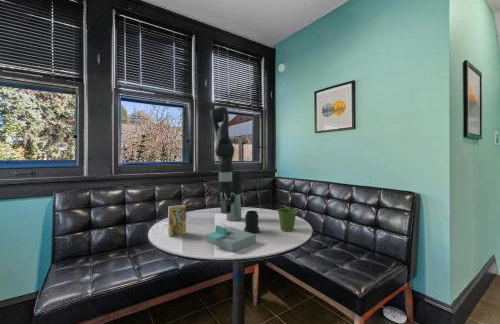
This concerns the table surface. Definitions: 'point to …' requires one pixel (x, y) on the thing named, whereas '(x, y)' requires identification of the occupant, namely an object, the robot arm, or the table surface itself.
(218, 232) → the shutter
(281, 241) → the table surface
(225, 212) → the plug
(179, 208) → the candy box
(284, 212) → the plant pot
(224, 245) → the socket plate
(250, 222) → the mug
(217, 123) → the robot arm
